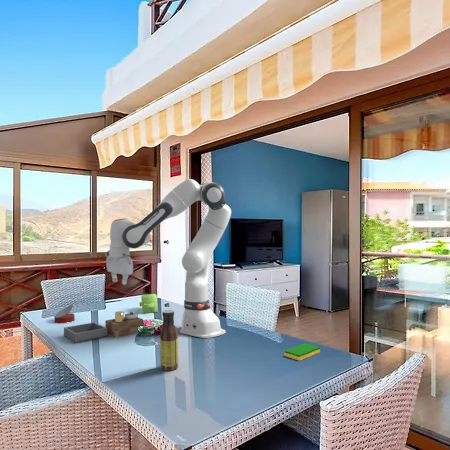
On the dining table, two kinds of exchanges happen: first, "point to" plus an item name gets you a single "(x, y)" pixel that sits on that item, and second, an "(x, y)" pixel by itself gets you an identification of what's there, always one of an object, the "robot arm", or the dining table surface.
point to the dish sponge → (302, 351)
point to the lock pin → (119, 316)
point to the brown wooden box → (124, 325)
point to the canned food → (64, 315)
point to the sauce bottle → (168, 342)
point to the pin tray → (85, 332)
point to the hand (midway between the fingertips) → (119, 283)
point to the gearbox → (149, 303)
